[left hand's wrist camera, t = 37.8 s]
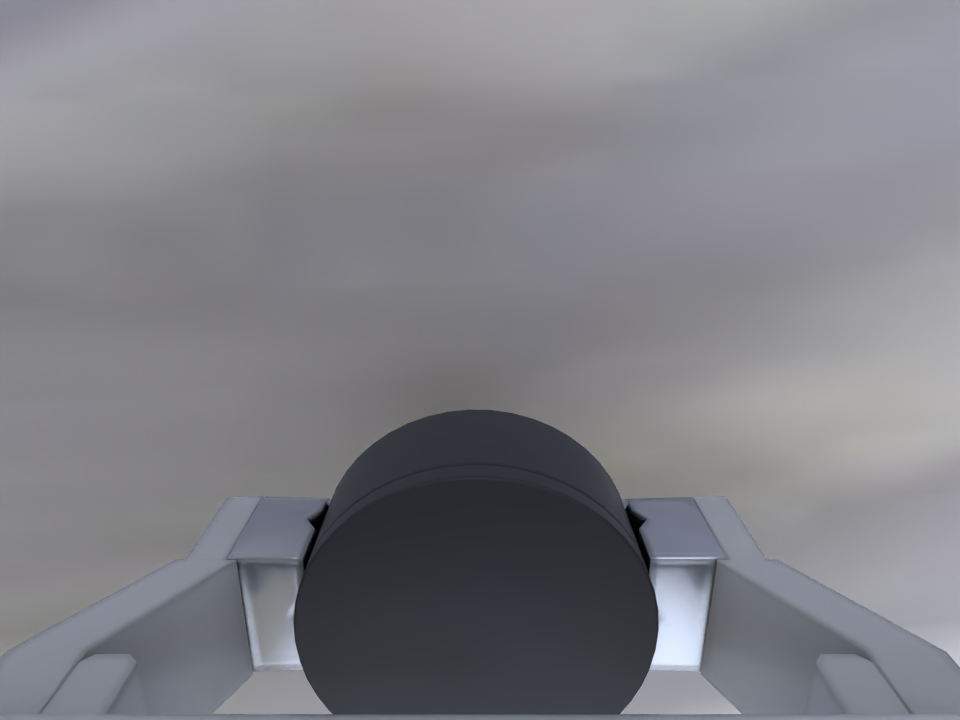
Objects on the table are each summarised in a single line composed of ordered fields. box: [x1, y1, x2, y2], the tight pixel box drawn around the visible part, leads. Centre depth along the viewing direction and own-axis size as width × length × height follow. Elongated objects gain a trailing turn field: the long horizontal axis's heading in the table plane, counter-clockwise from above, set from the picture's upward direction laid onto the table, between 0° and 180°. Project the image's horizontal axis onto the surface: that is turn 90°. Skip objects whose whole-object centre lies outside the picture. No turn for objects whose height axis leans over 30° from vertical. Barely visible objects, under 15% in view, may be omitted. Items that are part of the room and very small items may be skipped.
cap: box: [293, 410, 659, 714], centre depth 9 cm, size 4×4×2 cm
